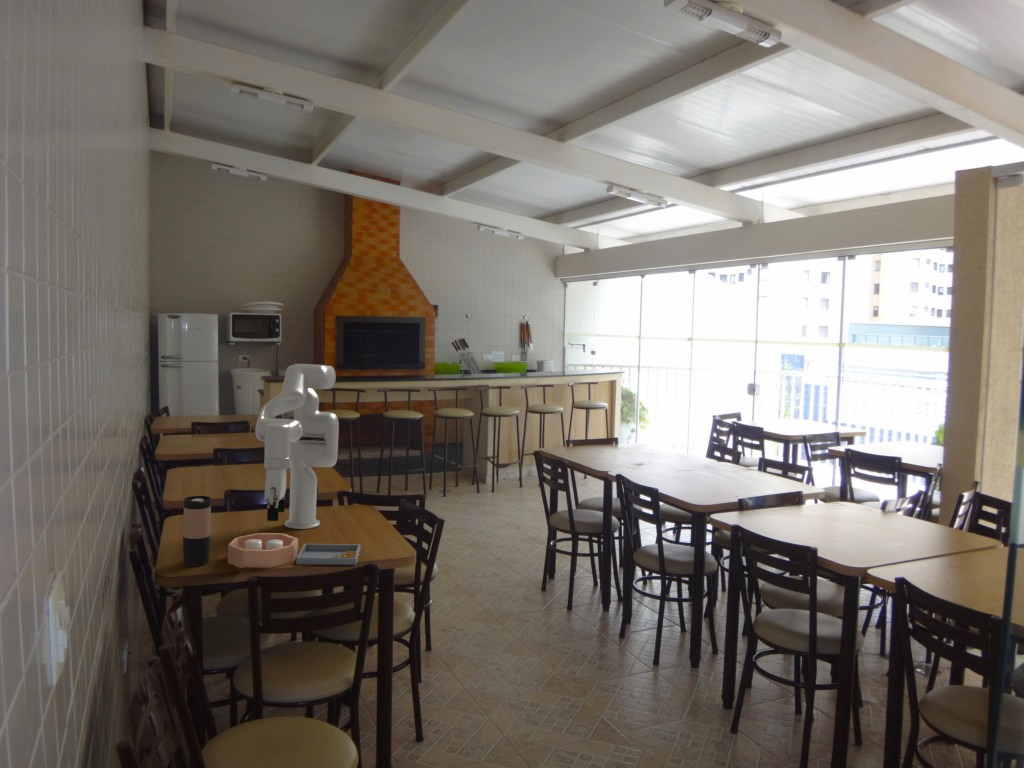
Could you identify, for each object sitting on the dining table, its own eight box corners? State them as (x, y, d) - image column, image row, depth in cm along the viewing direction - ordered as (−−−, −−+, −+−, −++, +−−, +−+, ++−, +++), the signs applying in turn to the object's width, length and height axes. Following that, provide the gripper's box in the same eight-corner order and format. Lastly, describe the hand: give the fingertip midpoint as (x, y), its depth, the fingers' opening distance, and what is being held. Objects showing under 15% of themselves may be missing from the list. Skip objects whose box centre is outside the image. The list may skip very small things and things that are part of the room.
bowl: (239, 550, 234) (239, 532, 233) (300, 551, 236) (301, 533, 236) (222, 569, 214) (223, 550, 214) (289, 570, 217) (290, 551, 216)
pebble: (267, 554, 228) (267, 539, 227) (283, 555, 228) (284, 539, 228) (264, 559, 223) (264, 544, 222) (280, 559, 223) (281, 544, 223)
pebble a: (246, 554, 227) (246, 539, 227) (262, 554, 228) (263, 539, 227) (243, 559, 222) (243, 543, 222) (259, 559, 223) (260, 543, 222)
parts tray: (304, 552, 235) (304, 543, 235) (360, 552, 237) (360, 544, 237) (296, 566, 220) (296, 557, 220) (355, 567, 222) (356, 558, 222)
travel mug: (187, 559, 222) (189, 495, 221) (213, 559, 223) (214, 496, 222) (178, 566, 215) (179, 500, 214) (204, 567, 215) (206, 501, 214)
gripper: (270, 456, 232) (269, 508, 234) (258, 468, 215) (257, 524, 217) (294, 457, 233) (293, 508, 235) (284, 468, 216) (283, 524, 217)
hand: (276, 516), depth 226 cm, fingers open, 9 cm apart
